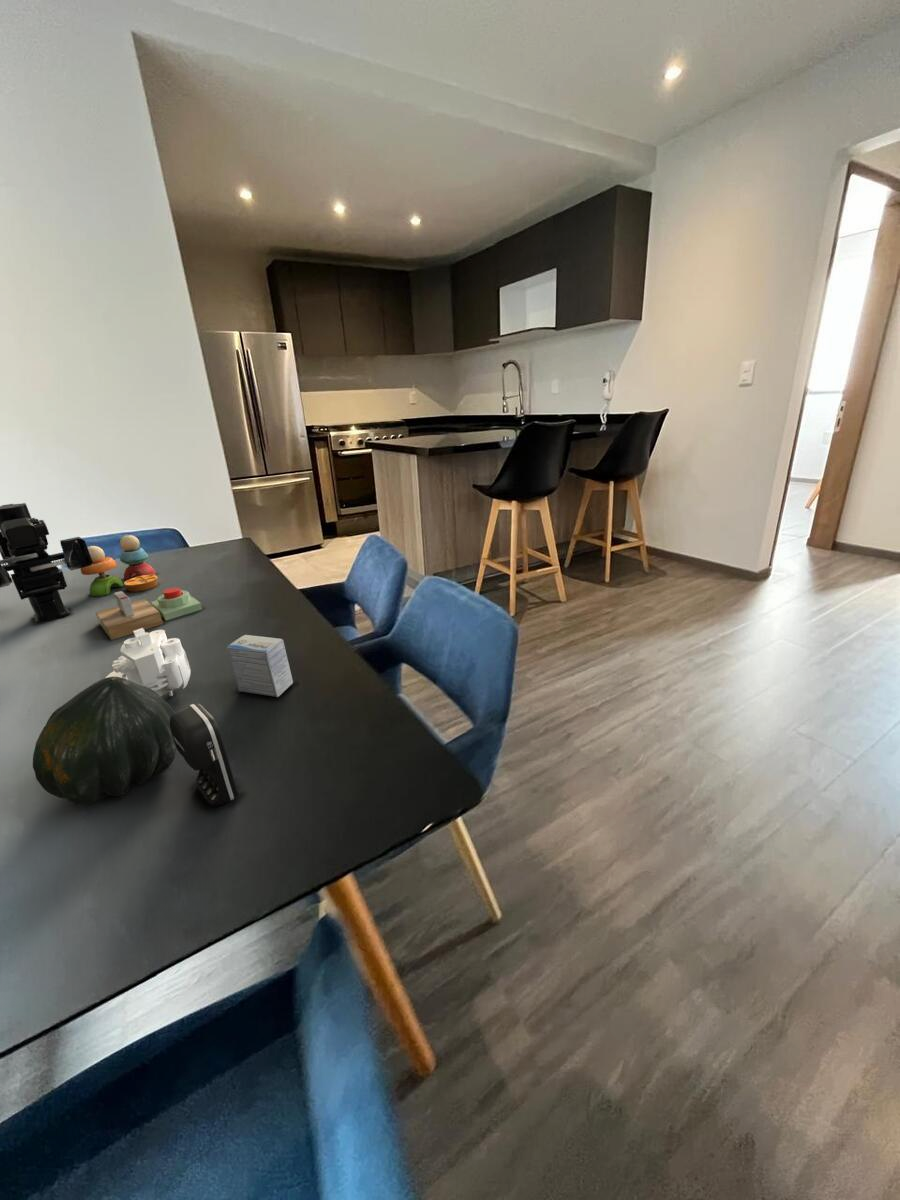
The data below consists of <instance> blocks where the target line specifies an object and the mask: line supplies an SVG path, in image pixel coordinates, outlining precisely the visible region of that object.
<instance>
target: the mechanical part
mask: <svg viewBox="0 0 900 1200" xmlns="http://www.w3.org/2000/svg"><path fill="white" fill-rule="evenodd" d="M133 632H134V633H133V635H134V637H129V638H128V639H126V640H124V641H123V644H122V646H121V648H120V650H119V651H120V654H121V655H120V656H118V657H117V659H114V660H113V662H112V664H111V667H112V670H113V671H112V672H110V673H109V674H108V675H106V676H105V678H108V677H120V678H124V679H127V680H130V681H133V682H135V683H139V684H142V685H144V686H146V687H148V688H150V689H152V690H154V691H155V692H156V693H157V694H158V695H159V696H160V697H161V698H162V697H163V696H164V695H166V694H167V693H168V696H169V697H173V695H174V693H173V691H175V690H185V688H186V687H187V686H188V683H189V681H190V679H191V666H190V663H189V659H188V656H187V653H186V651H185V649H184V648H183V646H182V643H181V640H180V638H178V637H172V638H168V637H167V635H166V630H165V629H155V630H152V631H150V632H148V631H147V632H146V631H145V630H144V629H143V628H141V629H138V630H135V631H133Z"/></svg>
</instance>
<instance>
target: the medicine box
mask: <svg viewBox="0 0 900 1200" xmlns="http://www.w3.org/2000/svg"><path fill="white" fill-rule="evenodd" d="M226 649H227V653H228V657H229V660H230V664H231V667H232V671H233V675H234V678H235V683H236V686H237V690H238V692H241V693H242V692H243V693H249V694H256V695H263V696H269V697H274V698H279V697H280V696H281V695H283V693H284V692H285V691H286V690H287V689H288V688H290V687H291V686H292V685H293V684H294V680H293V676H292V672H291V668H290V664H289V659H288V655H287V651H286V646H285V642H284V640H283V638H277V637H276V638H275V637H268V636H259V635H249V634H244V635H242V636H240V637H239V638H237V639H236V640H234V641H233V642H231V643H230V644H229V645H227V647H226Z"/></svg>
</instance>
